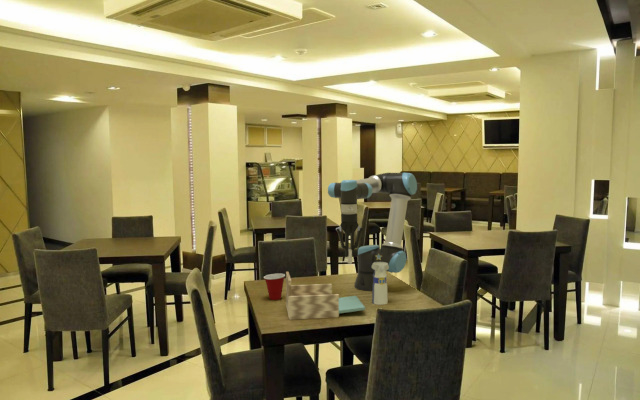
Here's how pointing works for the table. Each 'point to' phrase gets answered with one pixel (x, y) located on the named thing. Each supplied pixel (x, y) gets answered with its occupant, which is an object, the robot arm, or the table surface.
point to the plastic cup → (274, 285)
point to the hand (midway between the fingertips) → (349, 262)
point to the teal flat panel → (350, 304)
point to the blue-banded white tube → (379, 282)
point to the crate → (310, 301)
